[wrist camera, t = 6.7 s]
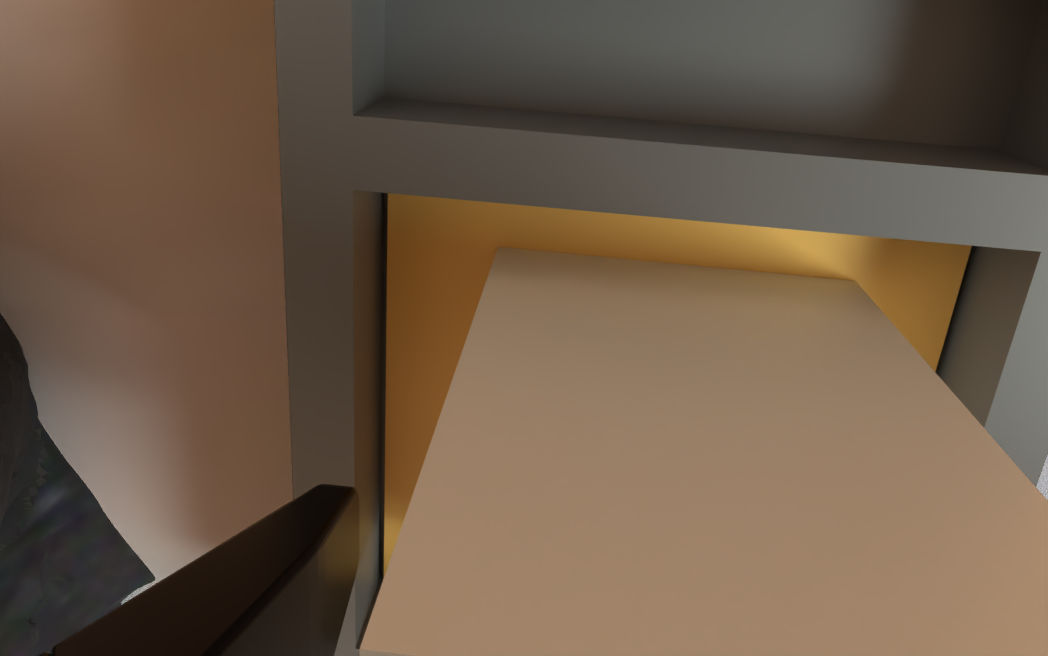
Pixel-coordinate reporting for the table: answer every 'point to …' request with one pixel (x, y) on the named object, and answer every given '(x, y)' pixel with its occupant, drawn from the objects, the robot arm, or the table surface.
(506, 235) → the pdu strip
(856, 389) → the plug
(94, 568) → the dark slate chunk
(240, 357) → the table surface
